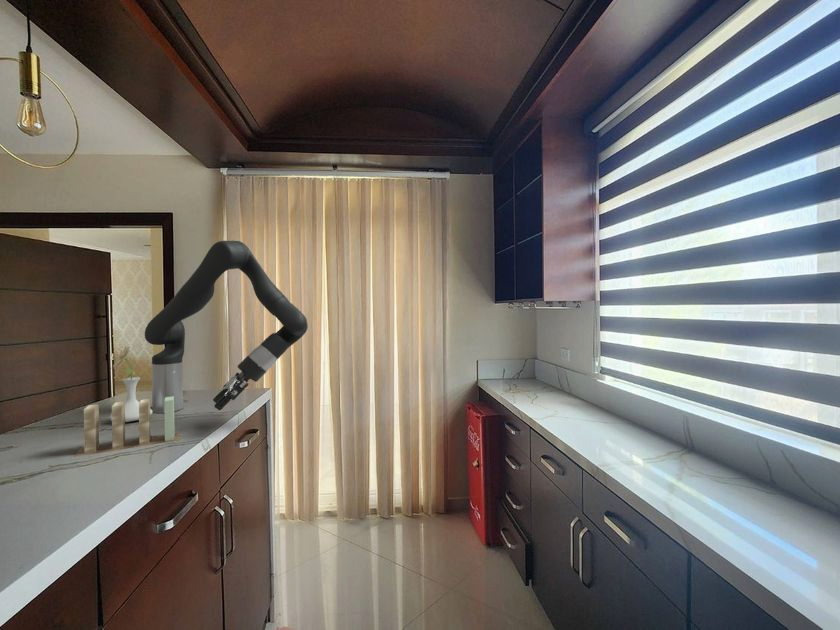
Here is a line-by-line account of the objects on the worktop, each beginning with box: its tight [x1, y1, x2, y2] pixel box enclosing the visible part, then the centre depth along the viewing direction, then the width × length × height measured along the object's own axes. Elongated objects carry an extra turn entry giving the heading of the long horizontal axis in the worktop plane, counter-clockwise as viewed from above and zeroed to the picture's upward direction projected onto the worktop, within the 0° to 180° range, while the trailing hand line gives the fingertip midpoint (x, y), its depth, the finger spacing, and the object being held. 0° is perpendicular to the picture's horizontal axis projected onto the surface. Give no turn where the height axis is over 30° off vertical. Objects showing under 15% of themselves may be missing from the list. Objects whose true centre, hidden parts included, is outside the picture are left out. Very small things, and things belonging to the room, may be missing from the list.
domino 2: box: [138, 398, 152, 445], centre depth 101 cm, size 2×5×11 cm, turn 32°
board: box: [73, 432, 182, 458], centre depth 100 cm, size 22×7×1 cm, turn 122°
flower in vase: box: [109, 345, 154, 423], centre depth 123 cm, size 13×11×25 cm
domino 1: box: [111, 401, 126, 449], centre depth 98 cm, size 2×5×11 cm, turn 32°
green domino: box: [164, 396, 175, 441], centre depth 104 cm, size 2×5×11 cm, turn 32°
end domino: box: [83, 403, 100, 454], centre depth 95 cm, size 2×5×11 cm, turn 31°
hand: (216, 405), depth 110 cm, fingers open, 7 cm apart
